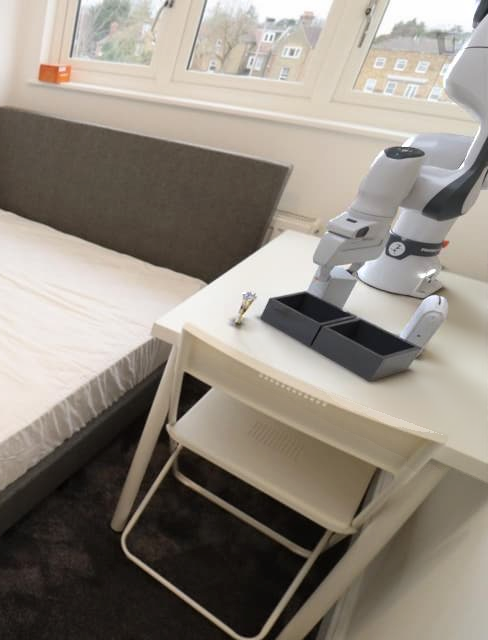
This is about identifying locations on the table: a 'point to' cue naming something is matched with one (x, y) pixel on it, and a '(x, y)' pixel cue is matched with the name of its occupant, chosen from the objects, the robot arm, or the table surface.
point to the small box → (333, 286)
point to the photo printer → (426, 321)
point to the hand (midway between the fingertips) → (335, 279)
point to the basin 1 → (303, 315)
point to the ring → (245, 305)
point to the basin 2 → (365, 348)
